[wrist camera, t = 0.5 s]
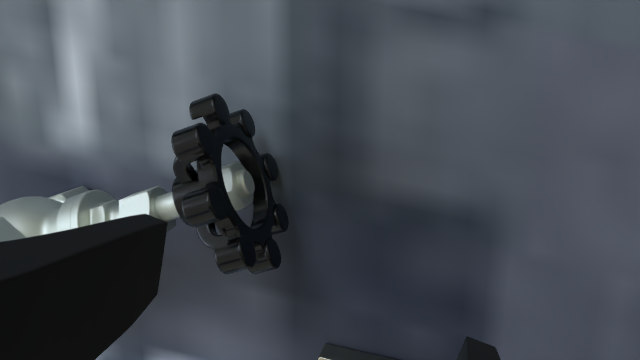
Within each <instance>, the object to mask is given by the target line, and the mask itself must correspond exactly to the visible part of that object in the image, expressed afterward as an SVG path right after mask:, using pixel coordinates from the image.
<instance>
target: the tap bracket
mask: <svg viewBox="0 0 640 360" xmlns="http://www.w3.org/2000/svg"><path fill="white" fill-rule="evenodd" d="M319 360H396V359H392V358H387V357H383V356H379V355H374V354H370V353H366V352H361V351H357V350H352V349H348V348H344V347H339V346H335V345H330V344H325V345H324V348H323V350H322V352H321V354H320V356H319Z"/></svg>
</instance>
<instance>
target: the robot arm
mask: <svg viewBox="0 0 640 360" xmlns="http://www.w3.org/2000/svg"><path fill="white" fill-rule="evenodd" d="M167 225H168V222H166V221H163V220H161V219H158V218H155V217H153V216H150V215H147V214H139V215H133V216H128V217H123V218H118V219H114V220H109V221H105V222H100V223H96V224H91V225H87V226H83V227H78V228H74V229H69V230H65V231H60V232H54V233H49V234H44V235H38V236H33V237H28V238H22V239H16V240H10V241H3V242H0V360H95V359H96V358H97V357H98V356H99V355H100V354H101V353H103V352H104V351H105V350H106V349H107V348H108V347H109V346H110V345H111V344H112V343H113V342H114V341H116V340H117V339H118V338H119V337H120V336H121V335H122V334H123V333H124V332H125V331H126V330H127V329H128V328H129V327H130V326H131V325H132V324H133V323H134V322H135V321H136V320H137V318H138V317H139V316H140V315H141V314H142V312H143V311H144V310H145V309H146V308H147V306H148V305H149V304H150V302H151V301H152V300H153V299H154V297H155V296H156V295H157V292H158V285H159V279H160V272H161V265H162V258H163V252H164V245H165V238H166V231H167ZM457 360H500V357H499V354H498V352H497V350H496V348H495V347H494V346H491V345H488V344H486V343H483V342H480V341H478V340H475V339H473V338H470V337H466V339H465V342H464V344H463V346H462V349H461V351H460V354H459V356H458V359H457Z"/></svg>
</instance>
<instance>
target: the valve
mask: <svg viewBox="0 0 640 360" xmlns="http://www.w3.org/2000/svg"><path fill="white" fill-rule="evenodd" d="M190 116H191V119H192V120H194V119H197V118H199V117H202V116H203V117H204V119H205V121H206V124H207V126H206V125H205V124H203V123H198V124H195V125H192V126H189V127H186V128H184V129H181V130H178V131H175V132H174V133H173V135H172V147H173V150H174V153H175V155H176V157H175V160H174V165H173V170H174V173H175V176H176V179H175V180H174V182H173V186H172V192H170V193H168V192H167V191H166V190H165V189H164V188H162V187H161V186H160V185H159V186H156V187H153V188H150V189H147V190H143V191H140V192H137V193H134V194H131V195H129V196H127V197H125V198H123V199H121V200H117V199H114V197H112V196H111V195H110V194H108V193H107V192H104V191H102V190H88V189H87V188H86V187H84V186H81V187H78V188H75V189H72V190H69V191H66V192H63V193H60V194H57V195H54V196H51V197H48V198H45V197H23V198H19V199H15V200H11V201H9V202H6V203H4V204H2V205H0V242H3V241H10V240H16V239H22V238H28V237H33V236H38V235H44V234H49V233H54V232H60V231H65V230H69V229H74V228H78V227H83V226H87V225H91V224H96V223H100V222H105V221H109V220H114V219H118V218H123V217H128V216H133V215H139V214H147V215H150V216H153V217H155V218H158V219H161V220H163V221H166V222H168V225H167V231H169V230H170V229H172V228H173V227H174V226H175V225H176V218H179V217H180V218H181V219H182V220H183V221H184V222H185V223H186V224H187V225H189V226H192V227H196V229H197V233H198V236H199V238H200V239H201V241H202V242H203V243H204V244H205V245H206V246H208V247H209V248H212V249H215V260H216V263H217V266H218V268H219V269H220V270H221V272H223V273H224V274H230V273H234V272H238V271H242V270H246V269H248V270H249V271H250V272H251V273H253V274H258V273H261V272H265V271H269V270H273V269H277V268H278V267H279V266H280V264H281V254H280V250H279V247H278V245H277V243H276V242H275V241H274V240H273V239H272V235H274V234H277V233H281V232H285V231H286V230H287V229H288V217H287V213H286V211H285V209H284V207H283V206H282V205H281V204H276V203H275V201H274V199H273V196H272V191H271V186H270V182H271V181H274V180H276V179H277V177H278V168H277V164H276V162H275V160H274V158H273V157H272V155H270V154H268V153H266V154H263V155H259V153H258V152H257V150H256V148H255V146H254V143H253V140H252V137H253V136H254V135H255V125H254V121H253V119H252V117H251V115H250V113H249V112H248V111H247V110H245V109H242V110H239V111H236V112H233V113H231V114H229V110H228V107H227V104H226V102H225V101H224V99H223V98H222V97H221V96H220V95H219V94H212V95H209V96H207V97H204V98H201V99H198V100H196V101H193V102H192V103H191V104H190ZM223 144H225V145H227V146H228V147H229V148H230V149H231V150H232V151H233V152H234V153H235V154H236V156H237V157H238V159H239V160H240V162H241V163H240V162H239V161H237V162H234V163H231V164H228V165H225V166H222V167H221V152H222V147H223ZM196 160H197V170H194V168H193V167H192V165H191V164H190V163H191V162H193V161H196ZM252 202H253V204H254V213H253V220H252V224H251V227H248V226H247V225H246V224H245V223H244V222H243V221H242V220H241V219H240V217H239V216H238V214H237V213H236V211H237V210H240V209H244V208H246V207H247V206H249V205H250V204H252ZM215 224H216V226H217V228H218V229H219V231H220V232H221V233H222V234H223V235H218V234H217V232H216V228H215ZM167 231H166V232H167Z"/></svg>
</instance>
